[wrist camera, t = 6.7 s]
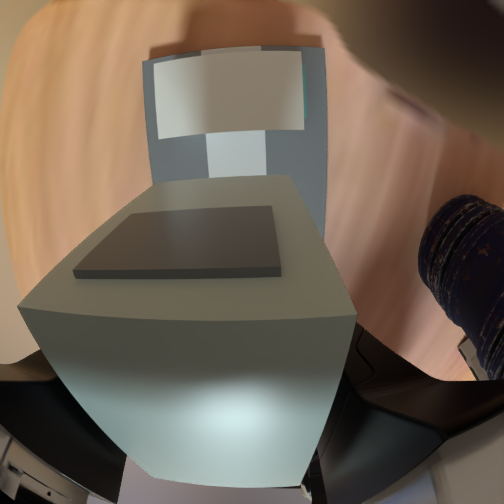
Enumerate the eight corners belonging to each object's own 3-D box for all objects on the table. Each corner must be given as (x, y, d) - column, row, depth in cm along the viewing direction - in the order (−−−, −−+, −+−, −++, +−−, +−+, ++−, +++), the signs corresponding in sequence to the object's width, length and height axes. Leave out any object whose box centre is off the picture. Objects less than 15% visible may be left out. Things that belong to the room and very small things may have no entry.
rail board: (320, 51, 14) (340, 32, 10) (313, 314, 23) (322, 354, 19) (148, 63, 14) (117, 51, 10) (183, 317, 23) (172, 356, 19)
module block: (288, 170, 9) (360, 302, 3) (285, 334, 12) (299, 485, 6) (156, 178, 9) (12, 297, 3) (187, 335, 12) (152, 477, 6)
